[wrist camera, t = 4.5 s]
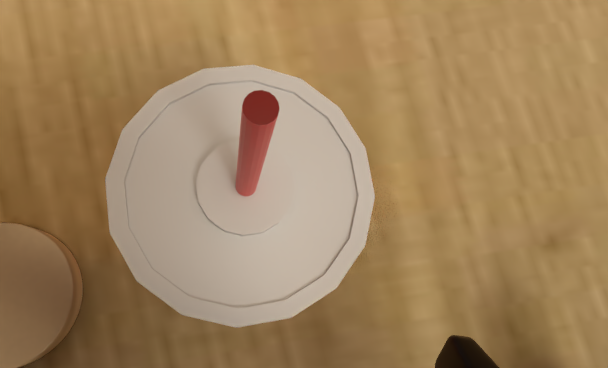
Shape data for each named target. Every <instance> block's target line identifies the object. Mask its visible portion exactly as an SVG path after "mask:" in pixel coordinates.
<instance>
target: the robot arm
mask: <svg viewBox="0 0 608 368" xmlns="http://www.w3.org/2000/svg"><path fill="white" fill-rule="evenodd" d="M435 368H499V367H498V366H497V365H496V364H495V362H494V361H493V360H492V359H491V358H490V357H489V356H488V355H487V354H486V353H485V352H484V351H483V350H482V348H481V347H480V346H479V345H478V344H477V343H476V342H475V341H474V340H473V339H471V338H470V337H465V336H456V335H452V336H450V337H449V338H448V339H447V341H446V343H445V345H444V347H443V349H442V350H441V352H440V354H439V356H438V358H437V360H436V363H435Z"/></svg>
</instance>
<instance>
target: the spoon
mask: <svg viewBox="0 0 608 368" xmlns="http://www.w3.org/2000/svg"><path fill="white" fill-rule="evenodd" d="M82 296H83V283H82V276H81V272H80V268H79V266H78V264H77V261H76V259H75V258H74V256H73V254H72V253H71V252H70V250H69V249H68V248H67V247H66V246H65V245H64V244H63V243H62V242H61V241H60V240H58V239H57V238H55V237H54V236H52V235H50V234H48V233H46V232H44V231H41V230H38V229H35V228H32V227H29V226H26V225H21V224H16V223H6V222H2V223H0V368H19V367H22V366H24V365H27V364H29V363H32V362H34V361H36V360H38V359H40V358H41V357H43V356H44V355H46V354H47V353H49V352H50V351H51V350H52V349H54V348H55V347H56V346H57V345H58V344H59V343H60V342H61V341H62V340H63V339H64V338H65V336H66V335H67V334H68V332H69V331H70V329H71V328H72V326H73V324H74V323H75V320H76V318H77V316H78V313H79V310H80V307H81V302H82Z"/></svg>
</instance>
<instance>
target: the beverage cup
mask: <svg viewBox="0 0 608 368" xmlns="http://www.w3.org/2000/svg"><path fill="white" fill-rule="evenodd" d="M105 183H106V195H107V207H108V219H109V231H110V234H111V236H112V238H113V240H114V241H115V243H116V245H117V247H118V249H119V250H120V252H121V254H122V256H123V258H124V259H125V261H126V263H127V265H128V267H129V268H130V270H131V272H132V274H133V276H134V277H135V279H136V281H137V282H138V283H140V284H141V285H142V286H144V287H145V288H146V289H148V290H149V291H150V292H152V293H153V294H154V295H156V296H157V297H158V298H160V299H161V300H163V301H164V302H165V303H167V304H168V305H169V306H171V307H172V308H173V309H175V310H176V311H177V312H179V313H180V314H181V315H184V316H189V317H193V318H197V319H202V320H206V321H210V322H215V323H219V324H223V325H227V326H232V327H236V328H238V327H243V326H249V325H254V324H260V323H266V322H271V321H277V320H282V319H288V318H292V317H293V316H295V315H297V314H298V313H300V312H301V311H303V310H304V309H306V308H307V307H309V306H310V305H312V304H313V303H315V302H316V301H318V300H319V299H321V298H322V297H324V296H326V295H327V294H329V293H330V292H332V291H333V290H335V289H336V288H337V287H338V285H339V284H340V282H341V281H342V279H343V278H344V276H345V275H346V273H347V272H348V270H349V269H350V267H351V266H352V264H353V263H354V261H355V260H356V258H357V257H358V255H359V254H360V252H361V251H362V250H363V248H364V247H365V244H366V239H367V234H368V229H369V224H370V219H371V214H372V209H373V204H374V199H375V195H374V189H373V184H372V179H371V174H370V168H369V163H368V158H367V153H366V148H365V147H364V145H363V144H362V142H361V140H360V139H359V137H358V136H357V134H356V133H355V131H354V129H353V128H352V126H351V125H350V123H349V122H348V120H347V118H346V117H345V115H344V114H343V112H342V110H341V109H340V108H339V107H338V106H337V105H335V104H334V103H333V102H331V101H330V100H329V99H327V98H326V97H325V96H323V95H322V94H321V93H319V92H318V91H317V90H315V89H314V88H313V87H311V86H310V85H309V84H307V83H306V82H305V81H303V80H302V79H300V78H297V77H294V76H290V75H287V74H283V73H280V72H276V71H273V70H269V69H266V68H263V67H259V66H256V65H245V66H232V67H219V68H206V69H202V70H200V71H198V72H196V73H193V74H191V75H189V76H187V77H185V78H183V79H181V80H179V81H177V82H175V83H173V84H170V85H168V86H166V87H164V88H162V89H160V90H158V91H157V92H156V93H155V94H154V95H153V96H152V97H151V98H150V99H149V101H148V102H147V103H146V104H145V105H144V106H143V107H142V108H141V109H140V110H139V112H138V113H137V114H136V115H135V116H134V117H133V118H132V119H131V120H130V121H129V122H128V124H127V125H126V126H125V127H124V128H123V129H122V132H121V135H120V138H119V141H118V144H117V146H116V149H115V152H114V155H113V158H112V161H111V164H110V166H109V169H108V172H107V175H106V178H105Z"/></svg>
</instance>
